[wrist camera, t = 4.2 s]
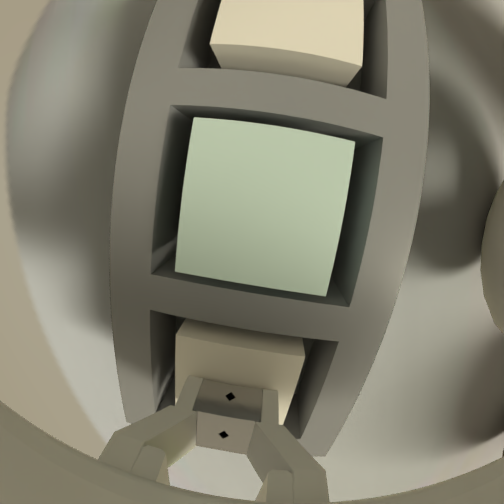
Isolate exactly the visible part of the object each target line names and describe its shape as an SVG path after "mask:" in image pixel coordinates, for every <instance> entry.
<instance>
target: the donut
mask: <svg viewBox="0 0 504 504" xmlns="http://www.w3.org/2000/svg"><path fill="white" fill-rule="evenodd" d="M480 271H481V277H482V285H483V293H484V297H485V300H486V302H487V305H488V307H489V310H490V313H491V315H492V318H493V321H494V323H495V324H496V326H497V327H498V328H499V329H500V330H501V332H502V333H503V334H504V180H503V182H502V184H501V186H500V188H499V189H498V191H497V193H496V195H495V197H494V200H493V203H492V206H491V208H490V211H489V214H488V216H487V220H486V226H485V231H484V236H483V240H482V250H481V270H480Z"/></svg>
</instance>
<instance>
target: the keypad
mask: <svg viewBox="0 0 504 504" xmlns="http://www.w3.org/2000/svg"><path fill="white" fill-rule="evenodd" d="M220 4H221V0H157V2H156V4H155V7H154V9H153V12H152V14H151V17H150V20H149V23H148V26H147V28H146V31H145V34H144V37H143V41H142V44H141V47H140V50H139V54H138V57H137V60H136V64H135V68H134V71H133V75H132V79H131V83H130V87H129V92H128V96H127V100H126V105H125V110H124V115H123V120H122V126H121V131H120V137H119V143H118V150H117V157H116V165H115V173H114V183H113V193H112V206H111V222H110V301H111V318H112V330H113V341H114V350H115V358H116V366H117V373H118V379H119V386H120V391H121V397H122V402H123V408H124V413H125V417H126V422H128V423H131V424H133V423H135V422H137V421H140V420H142V419H144V418H146V417H148V416H150V415H152V414H154V413H156V412H158V411H160V410H162V409H164V408H166V407H168V406H170V405H172V406H175V346H176V334H177V332H178V330H179V329H180V327H181V325H182V324H183V322H184V321H185V319H186V318H189V319H194V320H199V321H204V322H209V323H214V324H219V325H225V326H230V327H236V328H242V329H248V330H254V331H260V332H267V333H273V334H280V335H288V336H295V337H302V340H303V346H304V351H305V360H304V363H303V366H302V369H301V373H300V376H299V379H298V382H297V385H296V388H295V391H294V394H293V397H292V400H291V403H290V406H289V409H288V412H287V415H286V418H285V420H284V423H283V425H284V426H285V427H286V429H287V430H288V431H289V432H290V433H291V434H292V435H293V436H294V438H295V439H296V440H297V441H298V442H299V443H300V444H301V445H302V446H303V447H304V449H305V450H306V451H307V452H308V453H309V454H310V455H311V456H326V454H327V453H328V451H329V449H330V448H331V446H332V444H333V443H334V441H335V439H336V437H337V436H338V434H339V432H340V430H341V428H342V427H343V425H344V423H345V421H346V419H347V417H348V415H349V413H350V411H351V410H352V408H353V406H354V404H355V402H356V400H357V397H358V395H359V393H360V391H361V389H362V387H363V385H364V383H365V380H366V378H367V376H368V374H369V371H370V369H371V367H372V364H373V362H374V360H375V357H376V355H377V352H378V350H379V347H380V345H381V342H382V339H383V337H384V334H385V331H386V329H387V326H388V323H389V320H390V317H391V314H392V312H393V309H394V305H395V302H396V299H397V296H398V293H399V290H400V286H401V283H402V279H403V276H404V272H405V268H406V265H407V261H408V257H409V253H410V249H411V245H412V240H413V236H414V231H415V226H416V221H417V216H418V211H419V205H420V200H421V194H422V187H423V180H424V172H425V164H426V155H427V144H428V130H429V107H430V79H429V56H428V43H427V33H426V25H425V17H424V10H423V4H422V0H363V5H364V31H363V62H362V67H361V68H360V70H359V71H358V72H357V74H356V75H355V76H354V77H353V79H352V80H351V81H350V82H349V84H348V85H347V86H346V87H342V86H337V85H333V84H329V83H324V82H320V81H315V80H310V79H304V78H299V77H293V76H286V75H280V74H272V73H264V72H255V71H245V70H232V69H221V66H220V64H219V62H218V60H217V58H216V56H215V54H214V52H213V50H212V48H211V45H210V41H211V37H212V33H213V29H214V25H215V21H216V18H217V14H218V11H219V7H220ZM194 117H198V118H212V119H224V120H234V121H244V122H252V123H260V124H267V125H274V126H280V127H286V128H292V129H298V130H303V131H309V132H314V133H319V134H324V135H328V136H333V137H337V138H342V139H346V140H350V141H354V142H355V147H354V155H353V162H352V169H351V175H350V182H349V188H348V194H347V200H346V205H345V211H344V216H343V222H342V227H341V232H340V237H339V242H338V246H337V251H336V256H335V260H334V265H333V269H332V273H331V277H330V282H329V286H328V290H327V294H326V296H319V295H312V294H306V293H299V292H292V291H286V290H279V289H273V288H267V287H260V286H254V285H248V284H242V283H236V282H230V281H225V280H219V279H213V278H208V277H202V276H197V275H191V274H186V273H180V272H175V263H176V251H177V239H178V228H179V219H180V209H181V201H182V192H183V184H184V177H185V169H186V162H187V156H188V149H189V143H190V137H191V131H192V125H193V119H194Z"/></svg>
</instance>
